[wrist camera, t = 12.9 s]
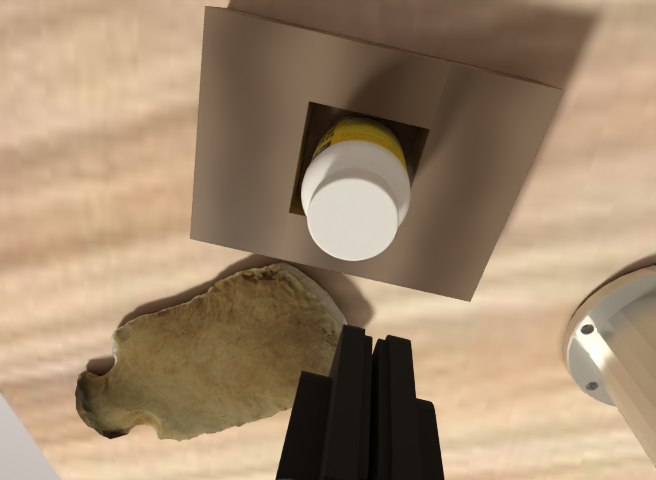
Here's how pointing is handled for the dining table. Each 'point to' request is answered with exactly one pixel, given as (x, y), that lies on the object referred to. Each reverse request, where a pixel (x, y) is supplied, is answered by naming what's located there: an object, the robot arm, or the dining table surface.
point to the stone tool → (215, 357)
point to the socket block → (372, 99)
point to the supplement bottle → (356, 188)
